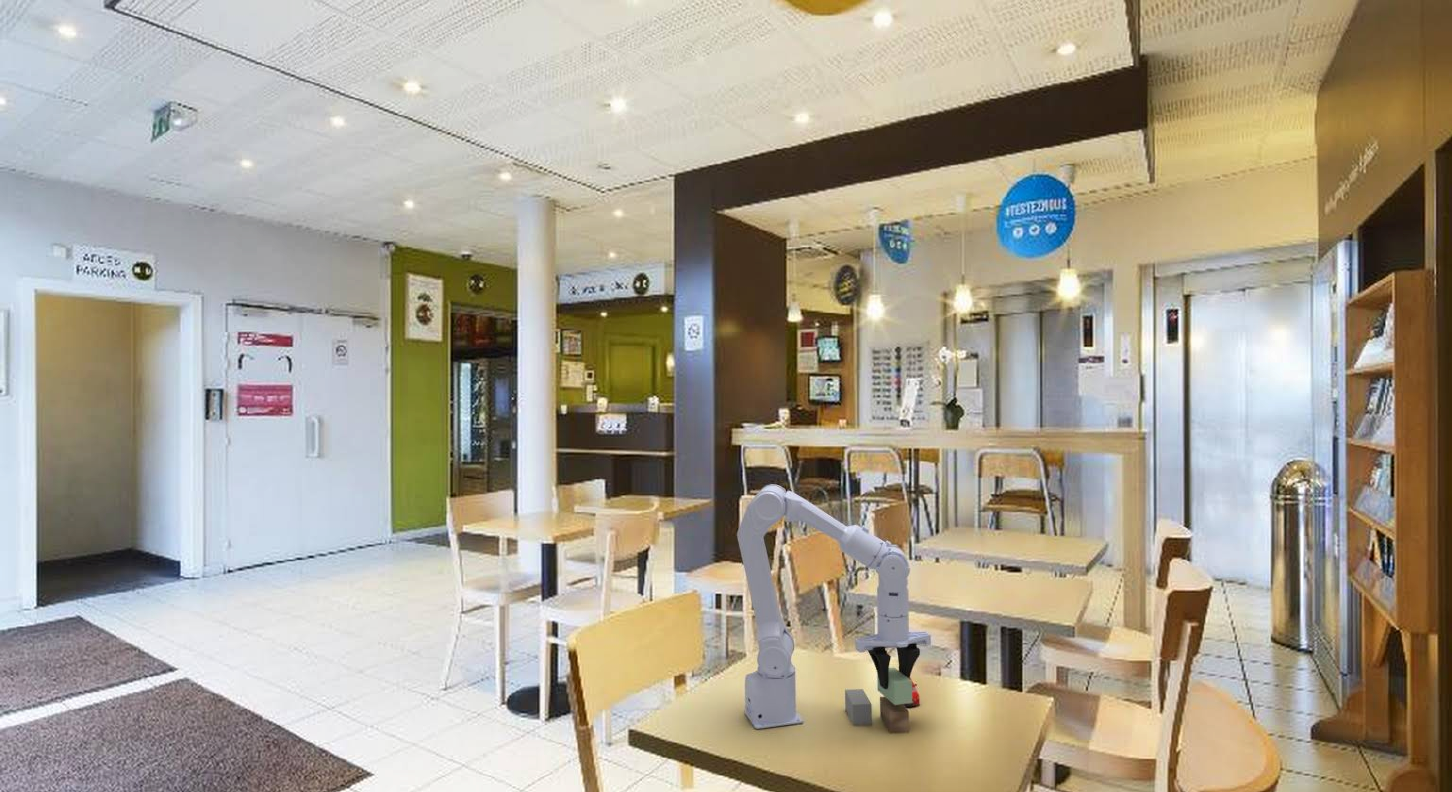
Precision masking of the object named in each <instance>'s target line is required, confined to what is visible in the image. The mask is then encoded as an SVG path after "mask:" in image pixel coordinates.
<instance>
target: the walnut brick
mask: <svg viewBox="0 0 1452 792" xmlns="http://www.w3.org/2000/svg"><path fill="white" fill-rule="evenodd" d="M879 710H880V711H879V717H880V719H881V720H882V722H883V724H884V726H885V728H886V729H887V731H888V732H889V734H907V733H910V713H909V712H910V711H909V710H908V708H907V706H905V705H904V704H899V705H894V704H893V703H892V702H891V701H890V700H888V699H887V698H886V697H885V696H879Z"/></svg>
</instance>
